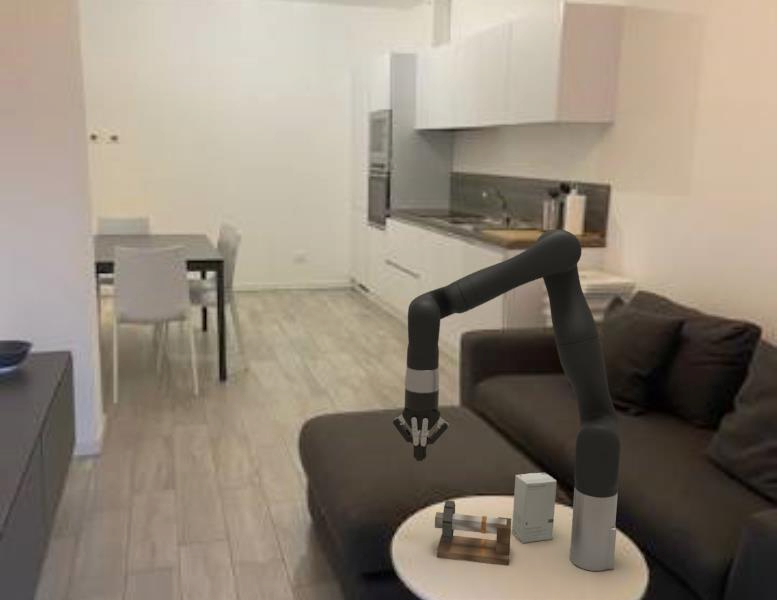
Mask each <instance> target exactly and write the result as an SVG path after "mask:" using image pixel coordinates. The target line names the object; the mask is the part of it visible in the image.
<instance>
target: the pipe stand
mask: <svg viewBox="0 0 777 600" xmlns="http://www.w3.org/2000/svg"><path fill="white" fill-rule="evenodd" d="M442 520H443V512H441V511H436V512H435V517H434V529H442V523H443V521H442ZM452 530H454V531H462V532H469V533H471V532H472V533H478V534H479V533H481V534H484V535H486V534H488V535H489V534H491V535H496V539H489V538H479V537H471V536H470V537H469V536H461V535H460V536H459V535H453V539H452V542H443V540H442V533H441V534H440V538H439V542H438V547H437V549H436V558H438V559H439V558H440V559H448V560H449V559H450V560H457V561H458V560H459V561H467V562H473V563H475V562H476V563H482V564H483V563H484V564H485V563H486V564H493V565H503V566H509V565H510V557H511V556H510V554H511V553H510V552H511V536H512V535H511V534H512V533H511V532H512V518H509V517H500V516H498V517H488V516H485V515H482V516H481V515H480V516H479V515H471V514H470V515H468V514H459V513H455V514H453V519H452Z"/></svg>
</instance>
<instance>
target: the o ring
mask: <svg viewBox="0 0 777 600" xmlns="http://www.w3.org/2000/svg"><path fill="white" fill-rule="evenodd" d="M442 513H443V520H442V521H443V523H442V528H441V534H442V540H443V542H452V539H453V536H454V533H455V532H454V531H455V530H452V519H453V514H456V501H455V500H448V499H447V500H445V501H444V505H443V512H442Z"/></svg>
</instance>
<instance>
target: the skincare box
mask: <svg viewBox="0 0 777 600" xmlns="http://www.w3.org/2000/svg"><path fill="white" fill-rule="evenodd" d="M514 477H515V478H514V479H515V481H514V495H513V508H512V509H513V510H512V521H511V532H512V533H511V534H513V535H514V536H515V537H516V538H517V539H518V540H519V541H520V542H521V543H522V544H526V543H531V542H538V541H546V540H548V541H549V540H552V539H553V532H554V522H555V521H554V520H555V519H554V518H555V507H556V493H557V479H555V478H553V476H551V475H549V474H548V473H546V472H537V473H536V472H530V473H525V474H524V473H522V474H516V475H515V476H514Z"/></svg>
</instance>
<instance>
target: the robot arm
mask: <svg viewBox="0 0 777 600" xmlns="http://www.w3.org/2000/svg"><path fill="white" fill-rule="evenodd" d="M581 256H582V244H581V241H580V240H579V239H578V237H577V236H576V235H575V234H573V233H572V232H570V231H568V230H564V229H560V228H559V229H548V230H546V231H544V232H543V233H541V234H540V235H539V236H538V238H537V240H536V242H535V244H533V245H532V246H530V247H528V248H527V249H525V250H524V251H522V252H520V253H519V254H515V255H514V256H513V257H510V258H507V259H506V260H503V261H501V262H499V263H496V264H492V265H490V266H487V267H485V268H482V269H479V270H477V271H474V272H472V273H470V274H468V275H465V276H463V277H461V278H459V279H457V280H455V281H453V282H451V283H449V284H446V285H445V286H442V287H439V288H436V289H433V290H430V291H427V292H424V293H422V294H419V295H418V296H416V297H415V298H413V299H412V300H411V302H410V303H409V305H408V310H407V337H408V338H407V341H408V344H407V349H406V350H407V351H406V370H405V377H404V409H403V410H402V413H401V414H400V415H399V416H395V417H394V419H393V421H392V424H393V425H394V427H395V428H396V429H397V431H398V432H399V433H400V435H401V436H402V438H403V439H404V440H405V442H407V443H411V444H412V445H413V458H414V459H416V460H415V461H416V462H424V460H425V459H426V458H427V455H428V446H429V445H434V443H435V442H436V441H437V440H439V438H440V437H441V436H442V435H443V434H444V433H445V431H446V430H447V429H448V427H449V424H450V422H449V420H445V419H443V418H442V417H441V413H440V411H439V398H440V397H439V395H440V393H439V392H440V372H439V370H440V369H439V361H440V358H439V357H440V350H439V337H440V331H441V330H440V328H441V320H443V319H445V318H447V317H449V316H452V315H454V314H464V313H466V312H469V311H471V310H473V309H475V308H477V307H480V306H481V305H483V304H486V303H488V302H489V301H492V300H494V299H496V298H498V297H499V296H501V295H503V294H505V293H508V292H510V291H512V290H514V289H516V288H518V287H520V286H523V285H526V284H529V283H531V282H535V281H536V280H540V279H543V282H544V285H545V288H546V289H545V290H546V292H547V297H548V301H549V308H550V309H549V310H550V317H551V323H552V330H553V335H554V339H555V344H556V349H557V353H558V358H559V361H560V365H561V367H562V370H563V372H564V374H565V377H566V378H567V380H568V382H569V384H570V386H571V388H572V390H573V392H574V395H575V398H576V402H577V408H578V415H579V422H580V426H579V427H580V429H579V431H578V432H577V435H576V441H575V450H574V451H575V452H574V466H573V467H574V471H573V472H574V475H573V477H574V488H573V490H574V491H573V505H572V518H571V519H572V520H571V522H572V523H571V535H570V548H569V553H570V554H569V560H570V561H571V563H572V564H574V565H575V566H577V567H579V568H581V569H584V570H587V571H593V572H600V571H601V572H603V571H606V570H614V567H615V566H614V565H615V564H614V563H615V551H616V538H617V526H616V518H617V507H618V495H619V471H620V470H619V469H620V460H621V459H620V458H621V457H620V456H621V448H622V444H623V439H624V434H623V429H622V426H621V424H620V420H619V418H618V415H617V412H616V410H615V406H614V403H613V400H612V397H611V393H610V391H609V390H610V389H609V385H608V375H607V370H606V363H605V359H604V357H605V356H604V352H603V348H602V343H601V339H600V334H599V331H598V328H597V327H598V326H597V325H596V322H595V321H596V320H595V318H594V316H593V314H592V310H591V308H590V306H589V304H588V301H587V299H586V297H585V295H584V292H583V288H582V286H581V280H580V274H579V269H578V267H579V266H578V263H579V261H580V259H581ZM405 423H407V425H408V427H409V428H410V429H411V431H410V430H409V428H408V427H407V426H406V424H405ZM436 424H437V429H436V430H435V431H434V432H433V433H432V434H431V435H430V436H429V431H430V430H432V429H433V427H434V426H435V425H436ZM420 432H421V433H420Z"/></svg>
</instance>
